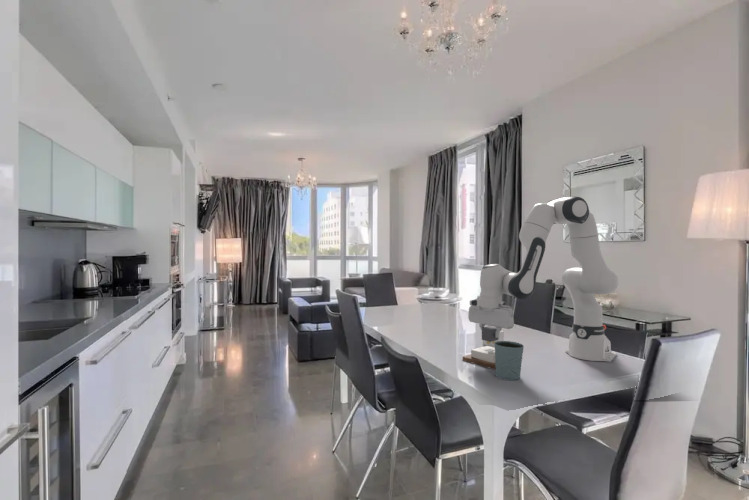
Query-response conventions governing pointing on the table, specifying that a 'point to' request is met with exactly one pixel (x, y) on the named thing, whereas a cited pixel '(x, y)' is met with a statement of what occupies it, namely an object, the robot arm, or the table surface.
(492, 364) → the mounting board
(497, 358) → the teal cup
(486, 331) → the plug
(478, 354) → the socket
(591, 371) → the table surface
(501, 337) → the medicine bottle
